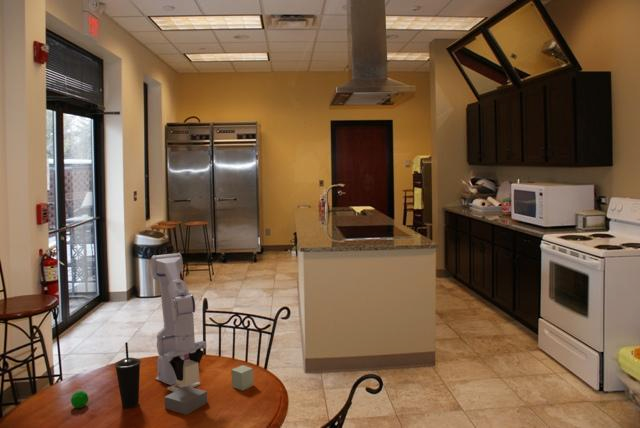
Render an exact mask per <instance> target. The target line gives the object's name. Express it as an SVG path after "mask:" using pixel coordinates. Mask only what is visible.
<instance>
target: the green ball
mask: <svg viewBox="0 0 640 428" xmlns="http://www.w3.org/2000/svg"><path fill="white" fill-rule="evenodd" d="M88 402H89V396H88V393H87V392H85V391H83V390H78V391H76V392H75V393H74V394H72V396H71V398H70V403H71V405H72V407H73V408H76V409H80V408H81V409H82V408H83V407H85V405H87V404H88Z"/></svg>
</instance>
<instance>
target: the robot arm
mask: <svg viewBox="0 0 640 428" xmlns="http://www.w3.org/2000/svg"><path fill="white" fill-rule="evenodd" d="M183 261H184V260H183V256H182V254H181V253H180V252H177V253H167V254H159V255H158V254H157V255H154V254H153V255H152V256H151V259H150V266H151V275H152V278H153V280H155V281H158V285H159V287H160V289H159V290H160V296H161V297H160V298H161V299H160V300H161V308H162V316H163V328H161V330H159V331H158V332H157V334H156V348H157V349H156V350H157V354H158V357H157V361H156V367H157V377H156V378H155V379H156V380H157V381H160V382H162V383H164V384H166V385H170V386H173V385H175V384H178V383H176V378H177V380H180V381H182V380H183V364H184V355H186V354H188V355H189V360H192V361H195V362H198V366H199V367H200V363H201V361H202V358H203V356H204V354H205V353H204V350H202V349H206V348H207V342H206V341H204V340H200V341H195V339H196V338H195V325H194V324H195V321H194V314H195V312H196V300H195V297H194V295H193V294H192V292H189V288H188V286H187V284H186V282H185V280H183V279H181V273H182V269H183V266H184V265H183ZM173 334H175V335H174V336H168V337H165V336H167V335H173Z"/></svg>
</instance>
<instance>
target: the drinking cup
mask: <svg viewBox="0 0 640 428" xmlns="http://www.w3.org/2000/svg"><path fill="white" fill-rule="evenodd" d="M124 344H125V357H124V358H122V359H120V360H118V361H116V362H115V363H114V368H115V371H116V376H117V384H118V389H119V395H120V400H121V401H120V402H121V406H122V408H124V409H130V408H131V409H132V408H135V407H137V406H138V405H139V399H140V398H139V397H140V370H141V369H140V368H141V367H140V366H141V363H142V360H141V359H140V358H135V357H129V347H128V346H129V343H128V342H127V341H126V342H124Z"/></svg>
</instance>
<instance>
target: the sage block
mask: <svg viewBox="0 0 640 428" xmlns="http://www.w3.org/2000/svg"><path fill="white" fill-rule="evenodd" d="M231 386H232V388H235V389H237V390H240V391H245V390H247V389H249V388H252V387H254V369H253V368H252V367H251V366H247V365H244V364H242V365H240V366H237V367H235V368H232V369H231Z"/></svg>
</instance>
